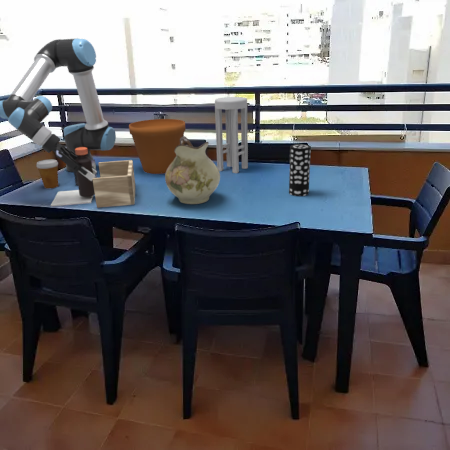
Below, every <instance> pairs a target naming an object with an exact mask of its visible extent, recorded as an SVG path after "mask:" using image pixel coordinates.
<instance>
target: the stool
mask: <svg viewBox="0 0 450 450" xmlns="http://www.w3.org/2000/svg"><path fill="white" fill-rule="evenodd" d="M222 110H225V142H226V143H223V116H222V115H223V113H222V112H223V111H222ZM238 110H240V129H241V130H240V131H241V132H240V135H241V138H240V139H241V141H240V144H241V145H239V118H238V117H239V116H238V115H239V111H238ZM214 112H215V113H214V114H215V115H214V116H215V118H214V119H215V142H216V166H217V168H218V170H219V172H222V171H224V170H225V169H224V155H225V154H226V167H229V168H230V167H232V173H233V174H238V173H239V171H240V169H239V168H240V167H239V163H240V162H239V159H240V158H239V156H240V155H241V169H246V170H247V169H248V168H249V164H248V163H249V159H248V156H249V155H248V154H249V153H248V152H249V151H248V150H249V149H248V147H249V145H248V144H249V143H248V98H247V97H243V96H227V97H226V96H225V97H218V98H215V100H214ZM225 148H226V149H225ZM240 149H241V151H239V150H240Z"/></svg>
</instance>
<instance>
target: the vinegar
mask: <svg viewBox="0 0 450 450" xmlns="http://www.w3.org/2000/svg"><path fill="white" fill-rule="evenodd" d="M75 153H76V156H77V158H76V159H75V161H76V162H77V163H78V164H80V165H81V166H82V168H83V167H84V168H85V169H87V170H89V171H90V172H91V173H92V174H93V169H92V162H91V159H90V158H89V157H88V156H87V155H88V149H87V148H86V147H79V148H76V149H75ZM76 175H77V182H78V185H77V188H78V190H79V195H80V196H82V197H90V196H93V197H94V196H95V192H94V185H93V180H92V181H90V180H89V179H88V178H86V177H85V176H84V175H83V174H81V173H80V172H79V171H78V172H77V173H76Z"/></svg>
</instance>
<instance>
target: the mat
mask: <svg viewBox="0 0 450 450" xmlns="http://www.w3.org/2000/svg"><path fill="white" fill-rule="evenodd" d="M93 199H94V195H93V196H90V197H82V196H80V195H79V189H73V190H60V191H57V193H56V194H55V196H54V199H53V200H52V202H51V204H50V206H51V207H59V206H61V207H62V206H70V205H82V204H92V201H93Z"/></svg>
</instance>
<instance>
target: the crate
mask: <svg viewBox="0 0 450 450" xmlns="http://www.w3.org/2000/svg"><path fill="white" fill-rule="evenodd" d="M97 164H98V169H99V170H98V171H99V177H97V178H93V185H94V192H95V195H94V197H95V204H96V208H107V207H108V208H109V207H121V206H131V205H133V206H134V205H135V200H136V177H135V172H134V169H135V168H134V162H133V159H128V160H127V159H126V160H112V161H102V162H101V161H100V162H98V163H97Z"/></svg>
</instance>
